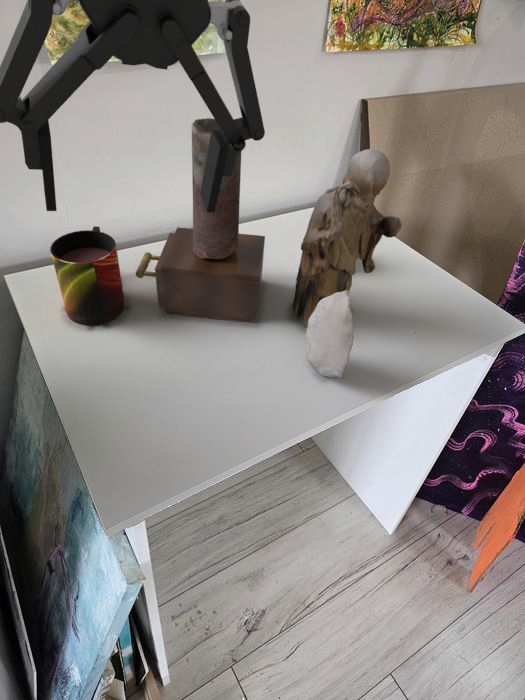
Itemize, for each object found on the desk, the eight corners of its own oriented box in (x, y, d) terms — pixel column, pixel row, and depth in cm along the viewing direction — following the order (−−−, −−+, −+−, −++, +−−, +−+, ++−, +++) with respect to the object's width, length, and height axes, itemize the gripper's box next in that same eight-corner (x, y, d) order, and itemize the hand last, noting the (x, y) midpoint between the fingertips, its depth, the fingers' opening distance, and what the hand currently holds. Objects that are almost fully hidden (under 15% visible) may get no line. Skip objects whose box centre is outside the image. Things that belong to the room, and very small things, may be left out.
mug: (107, 273, 91) (96, 214, 83) (133, 315, 83) (124, 254, 75) (53, 286, 87) (36, 225, 79) (75, 332, 79) (59, 270, 71)
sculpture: (295, 341, 81) (323, 161, 60) (275, 301, 88) (294, 129, 68) (379, 328, 85) (432, 155, 64) (353, 291, 92) (394, 126, 72)
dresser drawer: (133, 304, 84) (128, 266, 78) (150, 267, 92) (146, 230, 87) (243, 315, 83) (245, 277, 78) (249, 277, 92) (251, 240, 86)
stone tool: (294, 358, 78) (306, 280, 68) (308, 349, 80) (322, 272, 69) (336, 392, 73) (357, 314, 63) (350, 383, 75) (373, 305, 65)
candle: (211, 234, 85) (211, 112, 72) (246, 247, 83) (253, 124, 69) (184, 253, 80) (178, 126, 67) (221, 268, 78) (223, 140, 64)
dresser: (164, 314, 84) (160, 266, 77) (179, 272, 93) (177, 227, 86) (255, 323, 84) (259, 276, 77) (261, 280, 93) (265, 235, 86)
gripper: (-126, -169, 21) (-28, 230, 37) (367, -44, 30) (274, 229, 46) (-109, -202, 25) (-28, 171, 41) (322, -82, 34) (251, 181, 50)
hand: (133, 202), depth 43 cm, fingers open, 13 cm apart
